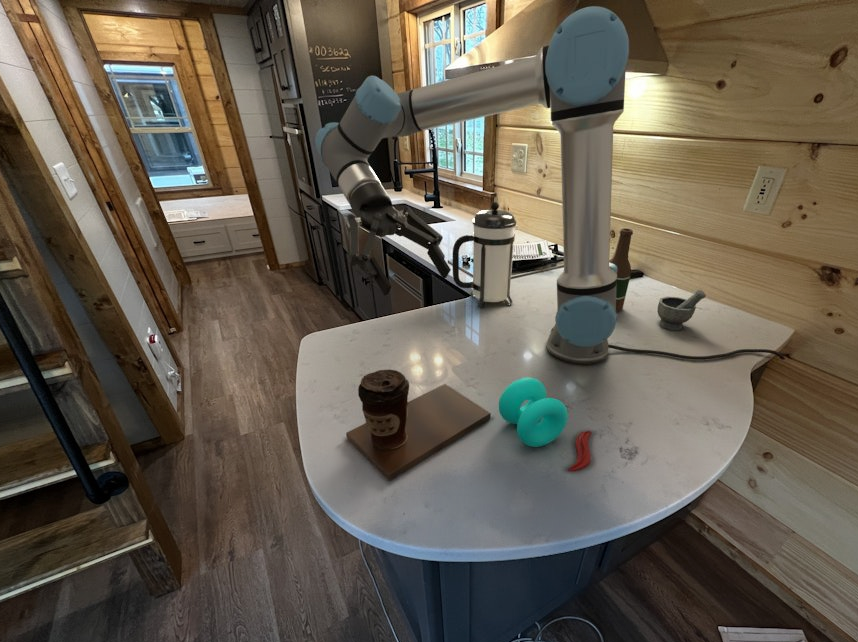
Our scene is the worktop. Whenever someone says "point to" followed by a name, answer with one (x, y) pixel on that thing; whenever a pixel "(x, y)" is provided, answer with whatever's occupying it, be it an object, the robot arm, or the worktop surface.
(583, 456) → the cayenne pepper
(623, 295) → the beer bottle
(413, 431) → the walnut board
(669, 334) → the worktop surface
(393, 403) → the coffee cup
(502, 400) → the donuts
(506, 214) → the coffee press
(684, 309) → the mortar and pestle
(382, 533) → the worktop surface
